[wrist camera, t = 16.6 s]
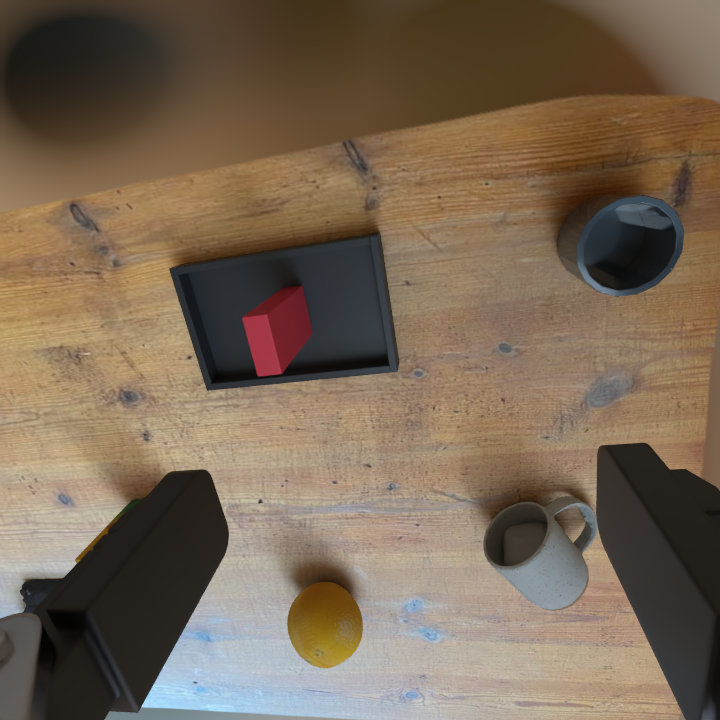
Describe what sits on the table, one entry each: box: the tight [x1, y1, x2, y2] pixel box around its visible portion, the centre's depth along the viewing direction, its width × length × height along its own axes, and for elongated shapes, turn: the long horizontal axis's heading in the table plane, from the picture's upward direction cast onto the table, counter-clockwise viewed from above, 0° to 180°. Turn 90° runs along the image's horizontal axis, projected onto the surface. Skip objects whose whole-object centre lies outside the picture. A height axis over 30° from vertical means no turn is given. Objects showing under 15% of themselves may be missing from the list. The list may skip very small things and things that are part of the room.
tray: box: [169, 233, 399, 390], centre depth 43 cm, size 19×12×2 cm, turn 100°
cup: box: [557, 193, 684, 297], centre depth 35 cm, size 7×7×6 cm
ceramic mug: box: [484, 496, 597, 610], centre depth 45 cm, size 11×8×8 cm
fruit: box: [287, 582, 363, 668], centre depth 53 cm, size 9×8×8 cm
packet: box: [242, 285, 313, 376], centre depth 38 cm, size 2×5×10 cm, turn 10°
